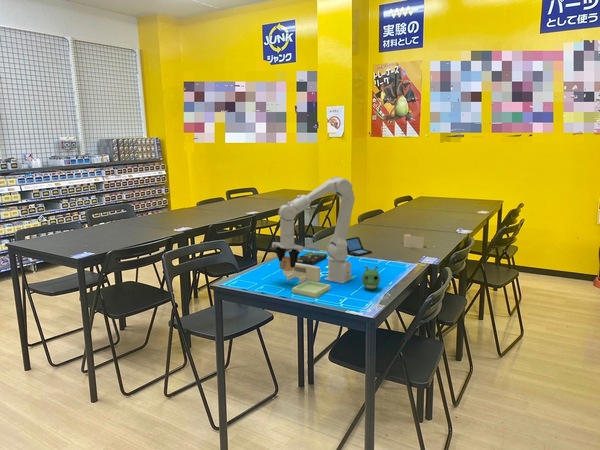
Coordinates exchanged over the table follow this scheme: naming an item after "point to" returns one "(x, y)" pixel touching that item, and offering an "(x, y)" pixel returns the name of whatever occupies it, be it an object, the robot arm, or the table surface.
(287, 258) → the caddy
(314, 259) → the disk drive
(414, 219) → the table surface
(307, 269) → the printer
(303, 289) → the tray
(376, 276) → the alien toy
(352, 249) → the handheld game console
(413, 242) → the model
